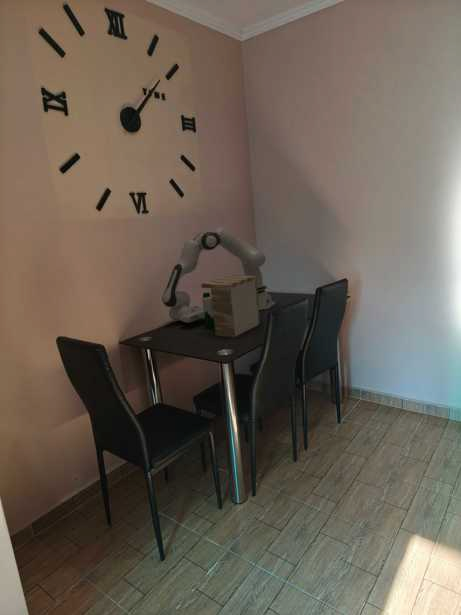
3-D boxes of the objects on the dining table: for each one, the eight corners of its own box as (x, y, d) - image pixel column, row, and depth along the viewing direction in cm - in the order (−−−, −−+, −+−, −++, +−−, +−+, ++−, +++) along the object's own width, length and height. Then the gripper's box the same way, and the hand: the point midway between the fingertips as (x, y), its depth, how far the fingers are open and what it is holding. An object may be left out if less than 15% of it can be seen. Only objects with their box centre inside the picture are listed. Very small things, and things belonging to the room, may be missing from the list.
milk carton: (208, 324, 242) (204, 291, 237) (222, 324, 239) (219, 291, 235) (204, 329, 233) (200, 295, 229) (219, 328, 231) (215, 294, 227)
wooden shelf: (234, 321, 243) (230, 275, 237) (260, 323, 232) (256, 275, 226) (207, 334, 223) (201, 284, 216) (233, 337, 212) (228, 285, 206)
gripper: (176, 313, 237) (194, 315, 229) (199, 305, 253) (216, 306, 245) (177, 324, 239) (195, 326, 231) (200, 315, 255) (217, 316, 246)
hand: (206, 316), depth 238 cm, fingers closed
